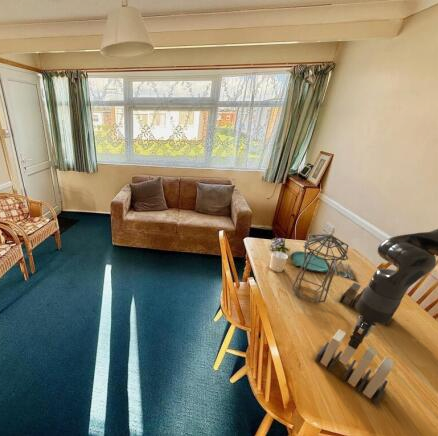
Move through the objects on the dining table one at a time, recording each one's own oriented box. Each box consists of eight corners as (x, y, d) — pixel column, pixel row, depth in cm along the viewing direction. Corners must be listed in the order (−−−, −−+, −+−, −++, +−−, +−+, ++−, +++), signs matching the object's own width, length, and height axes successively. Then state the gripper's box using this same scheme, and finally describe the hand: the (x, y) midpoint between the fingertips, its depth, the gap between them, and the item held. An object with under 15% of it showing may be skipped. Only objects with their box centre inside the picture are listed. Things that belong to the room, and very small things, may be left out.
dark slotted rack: (382, 391, 74) (402, 364, 68) (374, 407, 70) (395, 380, 64) (322, 350, 87) (335, 324, 81) (312, 361, 83) (325, 335, 77)
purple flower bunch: (270, 256, 153) (269, 238, 155) (289, 257, 148) (288, 239, 151) (270, 255, 143) (270, 236, 145) (291, 256, 138) (290, 236, 141)
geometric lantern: (326, 295, 113) (353, 233, 98) (324, 315, 102) (353, 249, 87) (290, 281, 122) (310, 223, 107) (284, 298, 111) (305, 236, 96)
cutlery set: (290, 251, 149) (291, 248, 148) (348, 265, 135) (350, 262, 134) (289, 266, 134) (290, 263, 133) (354, 285, 119) (356, 281, 118)
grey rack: (391, 319, 100) (402, 302, 95) (386, 328, 96) (397, 311, 91) (343, 296, 113) (351, 280, 108) (337, 303, 108) (345, 286, 104)
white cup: (265, 266, 134) (269, 251, 130) (277, 264, 136) (281, 250, 132) (274, 274, 127) (278, 259, 123) (286, 272, 129) (291, 258, 124)
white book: (352, 355, 78) (368, 329, 72) (346, 365, 75) (361, 338, 69) (345, 350, 79) (360, 324, 74) (338, 360, 76) (353, 333, 71)
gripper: (388, 323, 60) (363, 363, 67) (402, 299, 67) (377, 338, 74) (353, 305, 65) (333, 344, 73) (369, 285, 73) (349, 322, 80)
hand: (355, 341), depth 73 cm, fingers closed on white book, 6 cm apart
